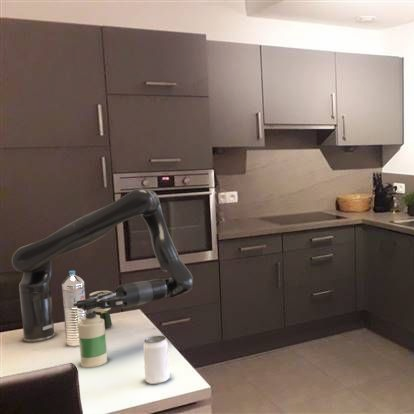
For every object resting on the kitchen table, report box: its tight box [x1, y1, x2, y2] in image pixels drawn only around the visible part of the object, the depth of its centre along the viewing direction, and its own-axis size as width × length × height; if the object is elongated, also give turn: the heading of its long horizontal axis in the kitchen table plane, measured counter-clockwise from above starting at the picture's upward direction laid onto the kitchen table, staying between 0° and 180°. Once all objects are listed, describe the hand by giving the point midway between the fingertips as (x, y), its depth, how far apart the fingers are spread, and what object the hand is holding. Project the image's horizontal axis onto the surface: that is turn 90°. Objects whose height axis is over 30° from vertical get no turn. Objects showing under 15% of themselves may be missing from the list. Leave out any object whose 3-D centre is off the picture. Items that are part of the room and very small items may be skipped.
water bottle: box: [61, 270, 88, 347], centre depth 184 cm, size 7×7×25 cm
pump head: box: [74, 298, 95, 313], centre depth 165 cm, size 6×3×4 cm, turn 142°
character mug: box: [89, 290, 113, 328], centre depth 200 cm, size 11×7×13 cm, turn 134°
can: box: [142, 335, 171, 385], centre depth 155 cm, size 6×6×12 cm
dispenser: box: [78, 311, 108, 368], centre depth 167 cm, size 7×7×16 cm
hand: (80, 305), depth 164 cm, fingers closed on pump head, 3 cm apart
